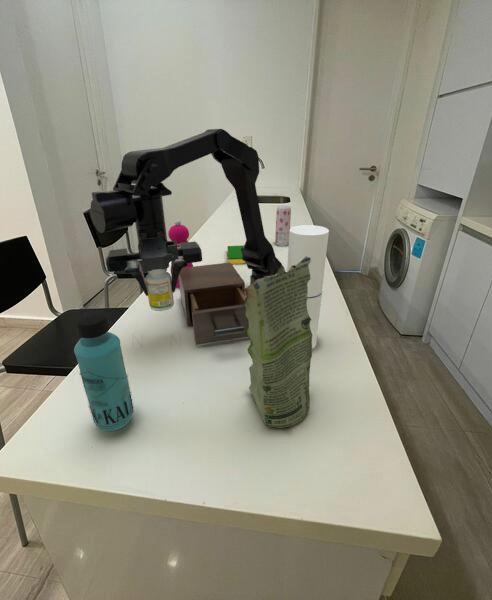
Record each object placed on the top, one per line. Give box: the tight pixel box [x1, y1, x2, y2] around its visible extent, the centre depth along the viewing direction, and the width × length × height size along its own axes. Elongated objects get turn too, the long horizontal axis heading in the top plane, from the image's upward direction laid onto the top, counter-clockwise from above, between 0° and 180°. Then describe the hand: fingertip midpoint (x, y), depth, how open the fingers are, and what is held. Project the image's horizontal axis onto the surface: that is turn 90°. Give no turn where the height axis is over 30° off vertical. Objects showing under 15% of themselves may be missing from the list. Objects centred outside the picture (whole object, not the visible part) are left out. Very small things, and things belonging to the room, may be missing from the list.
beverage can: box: [274, 205, 292, 247], centre depth 132 cm, size 6×6×15 cm
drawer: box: [189, 287, 250, 346], centre depth 75 cm, size 18×13×8 cm
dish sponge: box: [227, 244, 246, 265], centre depth 122 cm, size 7×14×2 cm, turn 0°
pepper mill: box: [167, 219, 194, 289], centre depth 99 cm, size 7×7×20 cm
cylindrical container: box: [286, 224, 330, 350], centre depth 67 cm, size 7×7×25 cm
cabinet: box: [179, 262, 246, 327], centre depth 86 cm, size 15×15×10 cm
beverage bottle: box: [73, 311, 135, 432], centre depth 49 cm, size 6×7×20 cm
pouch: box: [244, 256, 313, 429], centre depth 51 cm, size 11×12×25 cm
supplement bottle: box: [145, 268, 175, 312], centre depth 71 cm, size 5×5×10 cm
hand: (160, 293), depth 71 cm, fingers closed on supplement bottle, 5 cm apart
